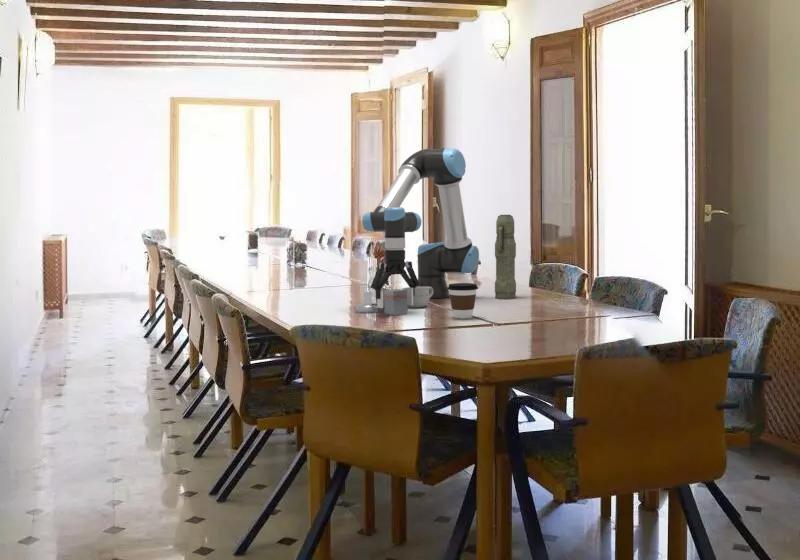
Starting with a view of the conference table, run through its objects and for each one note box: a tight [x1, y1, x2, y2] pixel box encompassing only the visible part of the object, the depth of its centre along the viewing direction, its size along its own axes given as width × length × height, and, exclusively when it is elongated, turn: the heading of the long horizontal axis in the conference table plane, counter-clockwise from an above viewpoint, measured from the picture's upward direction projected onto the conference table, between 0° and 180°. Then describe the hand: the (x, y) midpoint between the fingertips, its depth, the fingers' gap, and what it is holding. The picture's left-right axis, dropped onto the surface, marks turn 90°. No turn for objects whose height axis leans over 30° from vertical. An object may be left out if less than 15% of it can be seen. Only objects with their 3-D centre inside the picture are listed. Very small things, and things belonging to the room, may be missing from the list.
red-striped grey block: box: [383, 288, 408, 316], centre depth 350 cm, size 6×6×9 cm
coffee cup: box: [447, 282, 479, 320], centre depth 338 cm, size 11×11×12 cm
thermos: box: [494, 214, 517, 300], centre depth 396 cm, size 9×12×35 cm
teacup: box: [401, 286, 433, 309], centre depth 371 cm, size 14×11×8 cm
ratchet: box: [355, 291, 385, 314], centre depth 359 cm, size 20×9×8 cm, turn 95°
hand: (395, 306), depth 350 cm, fingers open, 13 cm apart
